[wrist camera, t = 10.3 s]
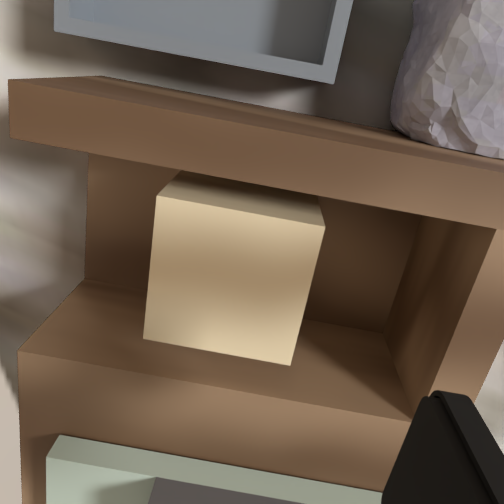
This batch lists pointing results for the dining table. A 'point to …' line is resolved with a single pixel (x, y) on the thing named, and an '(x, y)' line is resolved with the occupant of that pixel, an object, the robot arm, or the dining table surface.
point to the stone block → (453, 77)
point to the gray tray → (221, 30)
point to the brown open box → (318, 302)
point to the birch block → (231, 266)
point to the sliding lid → (174, 480)
